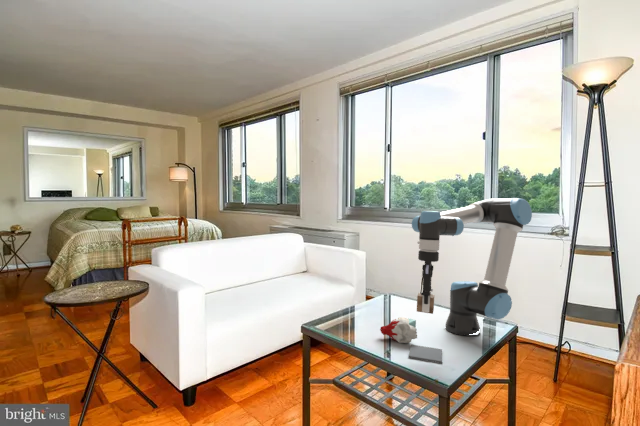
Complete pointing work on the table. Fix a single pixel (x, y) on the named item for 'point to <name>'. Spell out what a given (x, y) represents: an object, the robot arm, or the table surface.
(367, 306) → the table surface
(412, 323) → the teal block
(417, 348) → the mat
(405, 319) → the cream capsule cylinder
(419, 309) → the walnut cube
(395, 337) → the white two-tone toothed figurine
